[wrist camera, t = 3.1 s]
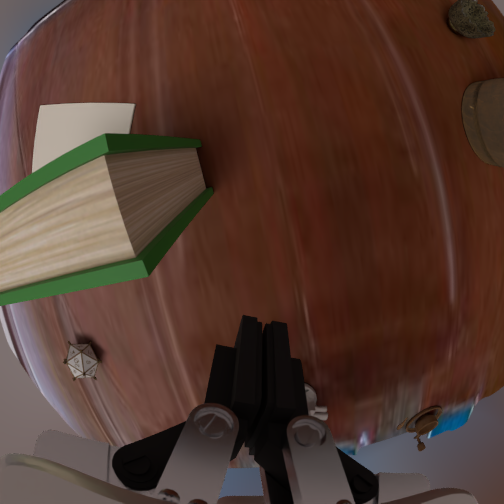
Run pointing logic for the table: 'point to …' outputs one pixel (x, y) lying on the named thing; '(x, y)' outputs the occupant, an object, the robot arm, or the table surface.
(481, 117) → the wooden container
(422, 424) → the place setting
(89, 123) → the desk pad
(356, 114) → the table surface
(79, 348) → the game die
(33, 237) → the hardback book
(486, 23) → the cup
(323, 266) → the table surface
